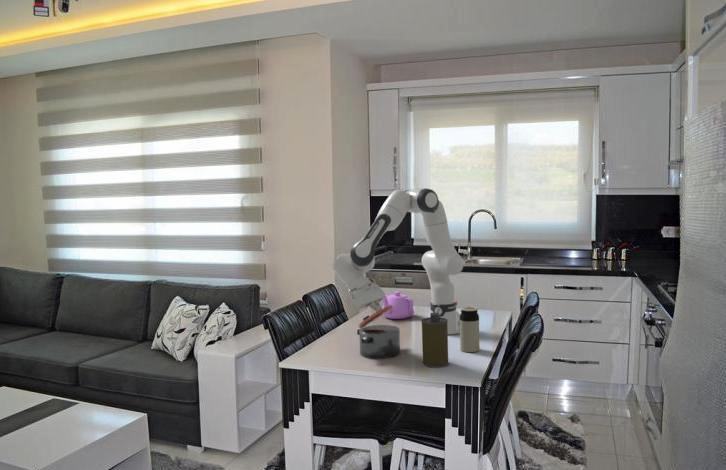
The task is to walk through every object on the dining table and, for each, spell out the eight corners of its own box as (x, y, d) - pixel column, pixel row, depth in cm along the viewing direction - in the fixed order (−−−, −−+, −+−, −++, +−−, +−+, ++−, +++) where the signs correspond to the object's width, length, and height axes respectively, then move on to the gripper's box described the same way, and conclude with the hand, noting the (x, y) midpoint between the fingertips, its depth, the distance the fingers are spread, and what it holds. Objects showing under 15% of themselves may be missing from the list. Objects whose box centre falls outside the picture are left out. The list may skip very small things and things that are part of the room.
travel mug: (476, 353, 230) (475, 310, 229) (457, 351, 234) (457, 309, 232) (481, 348, 237) (481, 306, 236) (463, 346, 241) (462, 305, 239)
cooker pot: (374, 343, 251) (374, 321, 250) (410, 347, 242) (410, 324, 241) (345, 358, 230) (344, 334, 229) (383, 363, 221) (383, 338, 220)
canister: (448, 368, 212) (447, 316, 211) (421, 367, 214) (419, 316, 213) (449, 359, 223) (448, 310, 221) (423, 359, 225) (422, 310, 223)
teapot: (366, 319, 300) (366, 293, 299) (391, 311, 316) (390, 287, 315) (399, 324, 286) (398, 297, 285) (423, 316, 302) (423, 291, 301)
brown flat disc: (372, 323, 246) (369, 317, 247) (399, 304, 238) (396, 298, 239) (352, 331, 232) (349, 325, 232) (381, 311, 224) (377, 306, 225)
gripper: (351, 285, 228) (372, 311, 224) (375, 278, 245) (395, 302, 241) (342, 295, 231) (363, 321, 226) (367, 287, 248) (386, 311, 244)
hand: (380, 311), depth 234 cm, fingers closed, pressing on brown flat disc
